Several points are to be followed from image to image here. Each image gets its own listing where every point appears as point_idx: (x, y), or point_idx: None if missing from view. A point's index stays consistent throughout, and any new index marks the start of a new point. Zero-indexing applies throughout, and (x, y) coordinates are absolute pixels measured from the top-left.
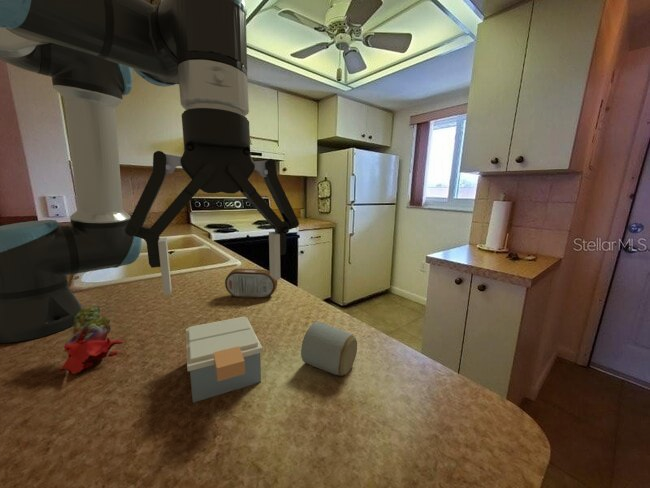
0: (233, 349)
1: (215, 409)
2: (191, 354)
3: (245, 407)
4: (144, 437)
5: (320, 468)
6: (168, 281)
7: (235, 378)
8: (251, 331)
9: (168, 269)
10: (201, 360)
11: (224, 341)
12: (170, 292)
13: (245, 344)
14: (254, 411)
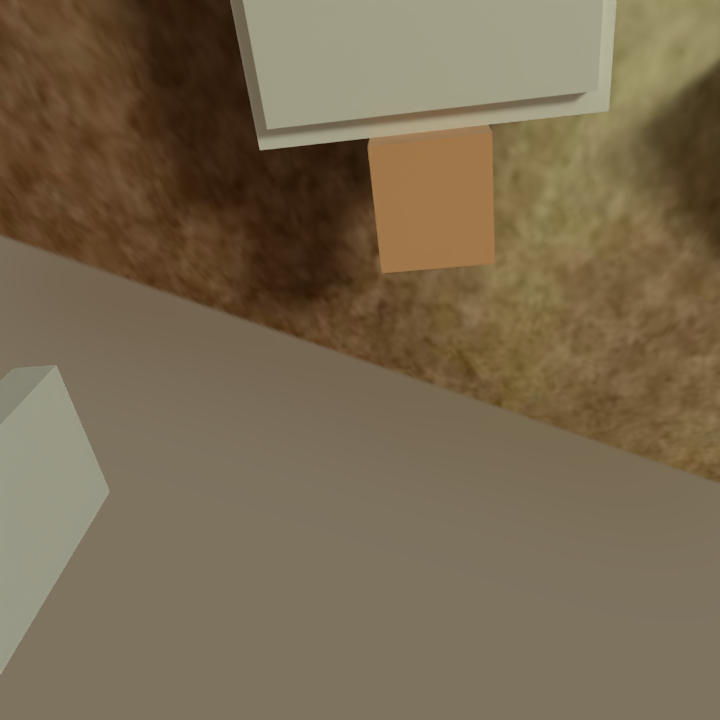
0: (460, 154)
1: None
2: (263, 88)
3: None
4: (183, 185)
5: (597, 414)
6: (60, 561)
7: None
8: None
9: (15, 633)
10: (314, 124)
11: (424, 7)
12: (102, 501)
13: (529, 85)
14: (497, 201)
